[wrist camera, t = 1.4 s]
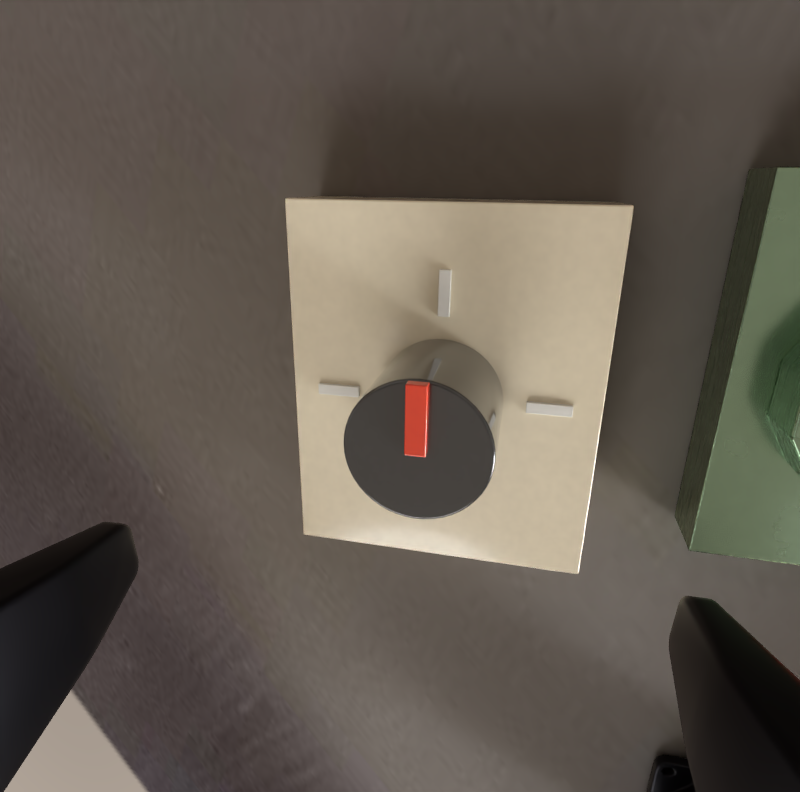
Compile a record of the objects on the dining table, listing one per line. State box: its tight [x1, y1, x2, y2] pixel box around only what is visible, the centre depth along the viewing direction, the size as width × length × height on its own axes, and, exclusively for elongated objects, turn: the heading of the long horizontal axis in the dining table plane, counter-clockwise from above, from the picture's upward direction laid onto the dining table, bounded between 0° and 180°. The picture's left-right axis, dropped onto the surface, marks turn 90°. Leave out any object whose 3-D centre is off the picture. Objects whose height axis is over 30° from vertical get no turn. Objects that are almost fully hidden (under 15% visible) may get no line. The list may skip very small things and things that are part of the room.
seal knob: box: [343, 339, 503, 519], centre depth 16 cm, size 4×4×4 cm
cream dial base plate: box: [285, 196, 634, 574], centre depth 20 cm, size 12×10×3 cm
